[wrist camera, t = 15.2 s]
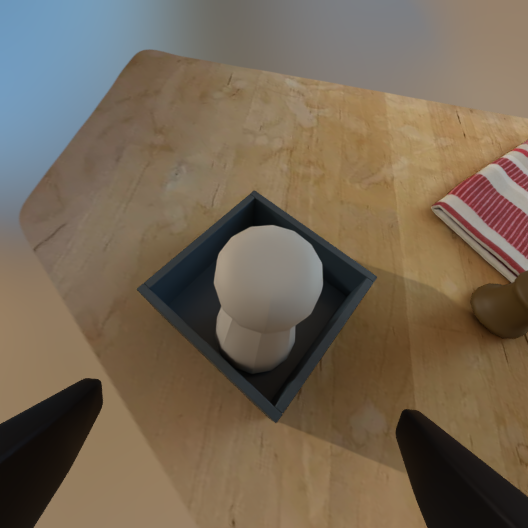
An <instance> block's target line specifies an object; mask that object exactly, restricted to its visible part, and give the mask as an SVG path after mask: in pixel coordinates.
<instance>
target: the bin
mask: <svg viewBox="0 0 528 528" xmlns="http://www.w3.org/2000/svg"><path fill="white" fill-rule="evenodd" d="M267 225H274V226H278V227H281V228H285V229H289V230H292V231H295V232H296V233H297V234H299V235H300V236H301V237H302V238H304V239H305V240H306V241H307V242H309V243H310V244H311V245H312V247H313V248H314V250H315V252H316V254H317V255H318V257H319V259H320V261H321V262H322V272H323V287H322V291H321V294H320V296H319V298H318V300H317V302H316V304H315V306H314V309H313V311H312V313H311V314H310V315H309V316H308V317H307V318H305V319H304V320H302V321H301V322H300V323H298V324H297V325H296V326H295V343H294V345H293V347H292V350H291V352H290V354H289V356H288V358H287V359H286V360H285V361H284V362H282V363H281V364H280V365H278V366H277V367H276V368H274V369H273V370H272V371H267V372H261V373H255V374H251V373H248V372H245V371H242V370H239V369H236V368H234V367H233V366H232V365H231V364H230V363H229V362H227V361H226V360H225V359H224V358H223V357H222V356H221V355H220V353H219V349H218V346H217V342H216V339H215V328H216V321H217V316H218V314H219V311H220V309H221V304H220V301H219V298H218V294H217V291H216V288H215V285H214V278H215V271H216V265H217V259H218V254H219V253H220V251H221V250H222V249H223V247H224V246H225V245H226V244H227V242H228V241H229V240H230V239H231V237H233V236H234V235H236V234H238V233H240V232H242V231H244V230H246V229H248V228H249V227H254V226H267ZM376 278H377V276H375V275H374V274H373V273H371V272H370V271H368V270H367V269H366V268H364V267H363V266H361V265H360V264H358V263H357V262H356V261H354V260H353V259H351V258H350V257H348V256H347V255H346V254H344V253H343V252H341V251H340V250H339V249H337V248H336V247H334V246H333V245H331V244H330V243H329V242H327V241H326V240H324V239H323V238H321V237H320V236H319V235H317V234H316V233H314V232H313V231H311V230H310V229H309V228H307V227H306V226H304V225H303V224H302V223H300V222H299V221H297V220H296V219H294V218H293V217H292V216H290V215H289V214H287V213H286V212H284V211H283V210H282V209H280V208H279V207H277V206H276V205H275V204H273V203H272V202H270V201H269V200H267V199H266V198H265V197H263V196H262V195H260V194H259V193H257V192H256V191H253V192H252V193H251V194H250V195H248V196H247V197H246V198H245V199H244V200H242V201H241V202H240V203H239V204H238V205H236V206H235V207H234V208H233V209H232V210H230V211H229V212H228V213H227V214H226V215H224V216H223V217H222V218H221V219H220V220H218V221H217V222H216V223H215V224H214V225H213V226H211V227H210V228H209V229H208V230H207V231H205V232H204V233H203V234H202V235H201V236H199V237H198V238H197V239H196V240H195V241H193V242H192V243H191V244H190V245H189V246H187V247H186V248H185V249H184V250H183V251H181V252H180V253H179V254H178V255H177V256H176V257H174V258H173V259H172V260H171V261H170V262H168V263H167V264H166V265H165V266H164V267H162V268H161V269H160V270H159V271H158V272H156V273H155V274H154V275H153V276H152V277H150V278H149V279H148V280H147V281H146V282H144V284H142V285H141V286H140V287H138V288H137V290H138V291H139V292H140V294H141V295H142V296H143V297H144V298H145V299H146V300H147V301H148V302H149V303H150V304H151V305H152V306H153V307H154V308H155V309H156V310H157V311H158V312H159V313H160V314H161V315H162V316H163V317H164V318H165V319H166V320H167V321H168V322H169V323H170V324H171V325H172V326H173V327H174V328H175V329H177V330H178V331H179V332H180V333H181V334H182V335H183V336H184V337H185V338H186V339H187V340H188V341H189V342H190V343H191V344H192V345H193V346H194V347H195V348H196V349H197V350H198V351H199V352H200V353H201V354H202V355H204V356H205V357H206V358H207V359H208V360H209V361H210V362H211V363H212V364H213V365H214V366H215V367H216V368H217V369H218V370H219V371H220V372H221V373H222V374H223V375H224V376H225V377H226V378H227V379H228V380H229V381H231V382H232V383H233V384H234V385H235V386H236V387H237V388H238V389H239V390H240V391H241V392H242V393H243V394H244V395H245V396H246V397H247V398H248V399H249V400H250V401H251V402H252V403H253V404H254V405H255V406H257V407H258V408H259V409H260V410H261V411H262V412H263V413H264V414H265V415H266V416H267V417H268V418H269V419H271V420H272V421H274V422H275V423H277V422H278V420H279V419H280V417H281V416H282V413H284V411H285V410H286V409H287V407H288V406H289V404H290V403H291V401H292V400H293V398H294V397H295V395H296V394H297V393H298V391H299V390H300V388H301V387H302V385H303V384H304V382H305V381H306V380H307V378H308V377H309V375H310V374H311V372H312V371H313V369H314V368H315V367H316V365H317V364H318V362H319V361H320V359H321V358H322V356H323V355H324V353H325V352H326V351H327V349H328V348H329V346H330V345H331V343H332V342H333V340H334V339H335V338H336V336H337V335H338V333H339V332H340V330H341V329H342V327H343V326H344V325H345V323H346V322H347V320H348V319H349V317H350V316H351V314H352V313H353V311H354V310H355V309H356V307H357V306H358V304H359V303H360V301H361V300H362V298H363V297H364V296H365V294H366V293H367V291H368V290H369V288H370V287H371V285H372V284H373V282H374V281H375V280H376Z"/></svg>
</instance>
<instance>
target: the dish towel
mask: <svg viewBox="0 0 528 528" xmlns="http://www.w3.org/2000/svg"><path fill="white" fill-rule="evenodd" d="M431 210H432V211H433V212H434V213H435V214H436V215H437V216H438V217H439V218H440V219H442V220H443V221H444V222H445V223H446V224H447V225H448V226H449V227H450V228H451V229H452V230H453V231H454V232H456V234H458V235H459V236H460V237H461V238H462V239H463V240H464V241H465V242H467V243H468V244H469V245H470V246H471V247H472V248H473V249H474V250H475V251H476V252H478V253H479V254H480V255H481V256H482V257H483V258H484V259H485V260H486V261H487V262H488V263H490V264H491V265H492V266H493V267H494V268H495V269H496V270H498V271H499V272H500V273H501V274H502V275H503V276H505V277H506V278H507V279H508V280H509V281H510V282H511V283H512V282H514V281H515V279H516V278H517V277H518V276H519V274H520V273H522V272H525V271H527V270H528V140H527V141H525V142H524V143H522V144H521V145H519V146H518V147H516V148H515V149H513V150H511V151H510V152H508V153H507V154H506V155H504V156H503V157H501V158H499V159H497V160H496V161H494V162H492V163H491V164H489V165H488V166H486V167H485V168H483V169H482V170H481V171H479V172H478V173H476V174H475V175H473V176H471V177H469V178H468V179H466V180H465V181H463V182H462V183H461V184H459V185H458V186H456V187H455V188H453V189H452V190H451V191H450V192H449V193H448V194H447V195H446V196H445V197H444V198H442V199H441V200H439V201H438V202H436V203H435V204H434V205H433V206H432V207H431Z"/></svg>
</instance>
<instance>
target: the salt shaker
mask: <svg viewBox="0 0 528 528" xmlns="http://www.w3.org/2000/svg"><path fill="white" fill-rule="evenodd" d="M214 285H215V288H216V291H217V294H218V298H219V301H220V304H221V309H220V311H219V314H218V316H217V321H216V328H215V339H216V342H217V346H218V349H219V353H220V355H221V356H222V357H223V358H224V359H225V360H226V361H227V362H229V363H230V364H231V365H232V366H233V367H234V368H236V369H239V370H242V371H245V372H248V373H251V374H255V373H261V372H267V371H272V370H273V369H274V368H276V367H277V366H278V365H280V364H281V363H282V362H284V361H285V360H286V359H287V358H288V356H289V354H290V352H291V350H292V347H293V345H294V343H295V326H296V325H297V324H298V323H300V322H301V321H302V320H304V319H305V318H307V317H308V316H309V315H310V314H311V313H312V311H313V309H314V306H315V304H316V302H317V300H318V298H319V296H320V294H321V291H322V287H323V272H322V262H321V261H320V259H319V257H318V255H317V254H316V252H315V250H314V248H313V247H312V245H311V244H310V243H309V242H307V241H306V240H305V239H304V238H302V237H301V236H300V235H299V234H297V233H296V232H295V231H292V230H289V229H285V228H281V227H278V226H274V225H267V226H254V227H249V228H248V229H246V230H244V231H242V232H240V233H238V234H236V235H234V236H233V237H231V239H230V240H229V241H228V242H227V244H226V245H225V246H224V247H223V249H222V250H221V251H220V253H219V254H218V259H217V265H216V271H215V278H214Z"/></svg>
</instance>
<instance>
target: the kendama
mask: <svg viewBox="0 0 528 528" xmlns="http://www.w3.org/2000/svg"><path fill="white" fill-rule="evenodd" d="M471 305H472V309H473V312H474V314H475V315H476V317H477V318H478V320H479V321H480V323H481V324H483V325H484V326H485V327H486V328H487V329H488V330H489V331H490V332H492V333H494V334H496V335H498V336H499V337H501V338H509V339H515V338H518V337H520V336H523V335H525V334H526V333H527V332H528V270H527V271H525V272H522V273H520V274H519V276H518V277H517V278H516V279H515V281H514V282H512V283H510V284H507V285H501V284H486V285H483V286H481V287H479V288H477V289H476V290H475V292H474V293H473V294H472V298H471Z"/></svg>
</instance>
